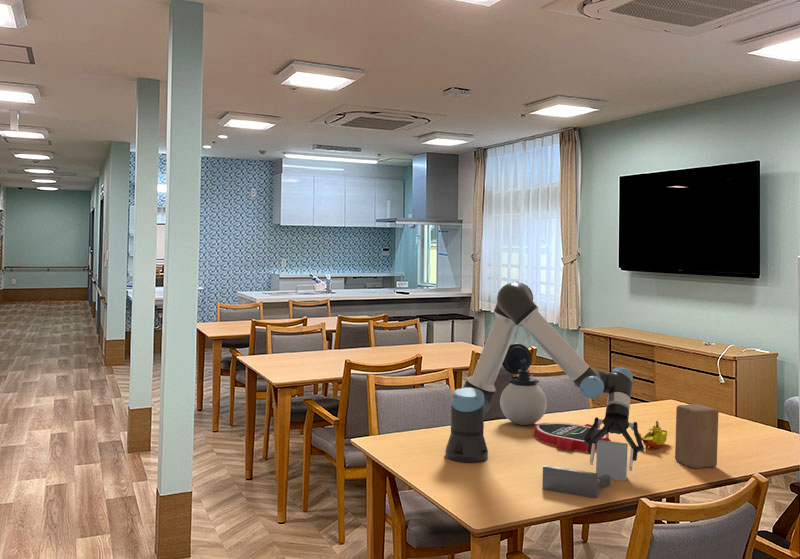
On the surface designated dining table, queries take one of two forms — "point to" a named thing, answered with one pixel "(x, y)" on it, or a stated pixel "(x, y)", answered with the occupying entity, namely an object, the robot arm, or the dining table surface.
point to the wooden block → (696, 435)
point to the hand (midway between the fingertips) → (610, 465)
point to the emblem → (565, 435)
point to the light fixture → (521, 389)
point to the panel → (612, 459)
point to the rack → (573, 481)
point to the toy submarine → (654, 437)
